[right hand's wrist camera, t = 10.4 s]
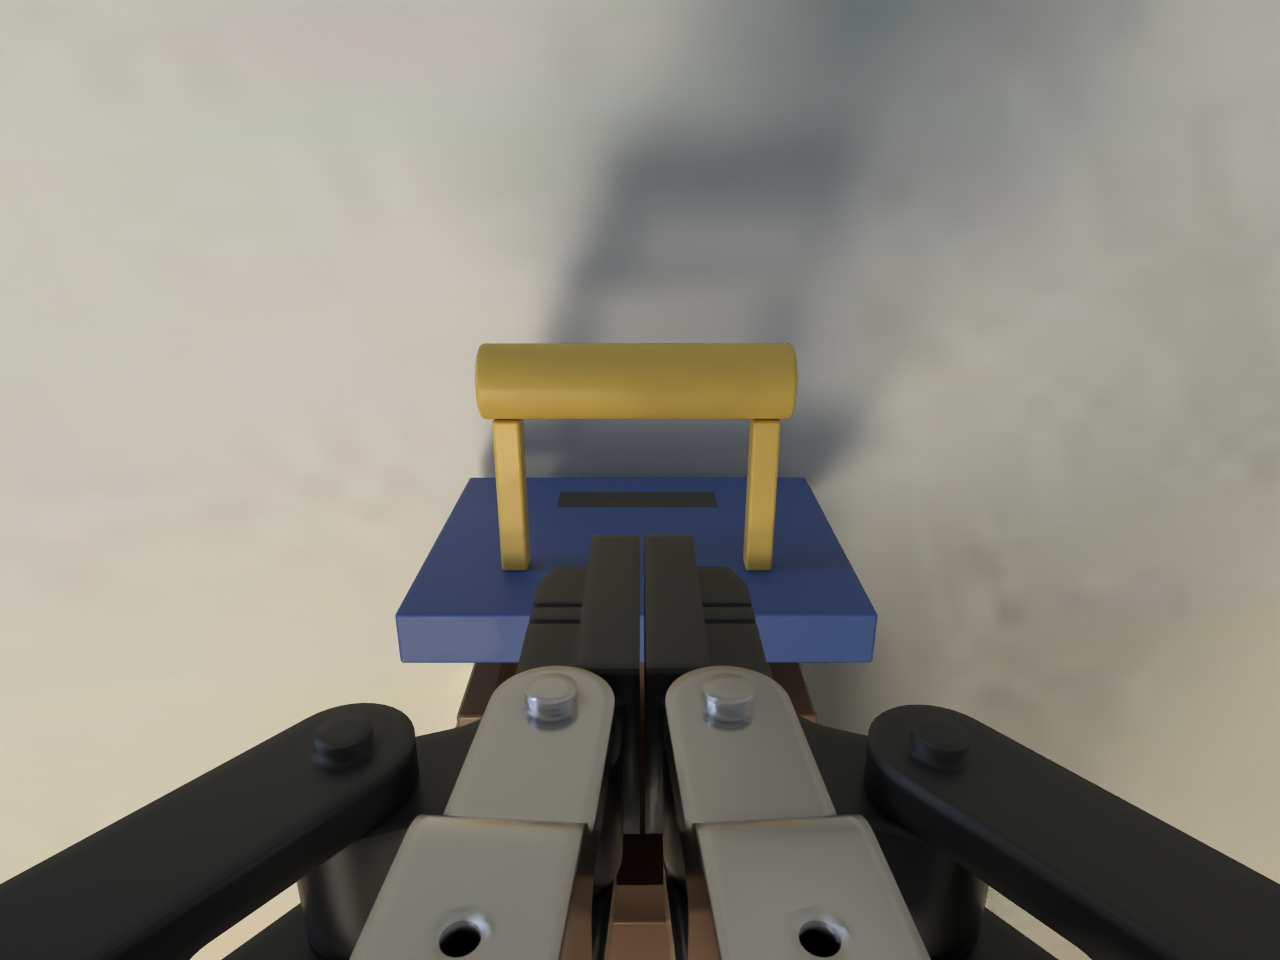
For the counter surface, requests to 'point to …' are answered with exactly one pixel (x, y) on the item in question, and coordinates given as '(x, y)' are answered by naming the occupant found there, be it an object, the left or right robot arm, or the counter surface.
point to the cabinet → (640, 923)
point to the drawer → (634, 522)
